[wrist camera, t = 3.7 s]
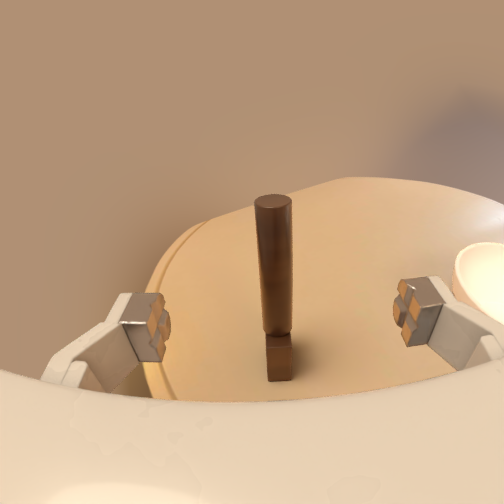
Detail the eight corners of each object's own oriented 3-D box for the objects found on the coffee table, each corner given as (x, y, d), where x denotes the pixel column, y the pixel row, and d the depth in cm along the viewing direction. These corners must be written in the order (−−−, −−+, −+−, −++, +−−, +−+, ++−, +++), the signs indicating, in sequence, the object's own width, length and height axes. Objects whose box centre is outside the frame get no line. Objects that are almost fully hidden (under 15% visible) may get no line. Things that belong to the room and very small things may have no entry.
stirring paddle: (293, 380, 27) (295, 213, 19) (265, 381, 27) (253, 215, 19) (289, 343, 32) (288, 187, 23) (265, 344, 32) (254, 189, 23)
